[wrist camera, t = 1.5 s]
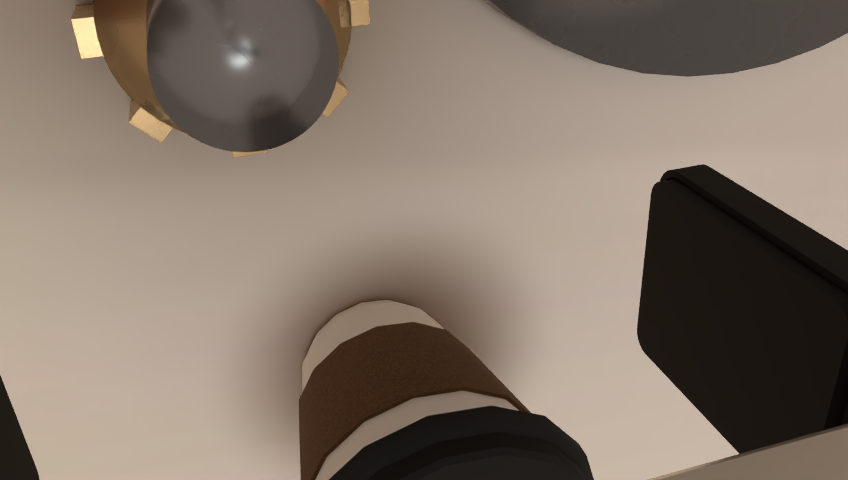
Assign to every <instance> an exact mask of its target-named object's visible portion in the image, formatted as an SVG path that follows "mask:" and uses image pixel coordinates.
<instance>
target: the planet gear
mask: <svg viewBox="0 0 848 480" xmlns="http://www.w3.org/2000/svg"><path fill="white" fill-rule="evenodd" d="M71 21H72V25H73V28H74V32H75V36H76V40H77V44H78V47H79V51H80V55H81V59H83V58H91V57H99V56H104V58H105V60H106V62H107V64H108V66H109V69H110V70H111V72H112V73H113V75H114V77H115V78H116V80H117V81H118V83H119V84H120V85H121V87H122V88H123V89H124V90H125V91H126V93H127V94H128V95H129V96H130V97H131V98H132V99H133V100H132V101H131V103H130V114H129V123H131V124H133V125H134V126H136V127H137V128H139V129H141V130H142V131H144V132H145V133H147V134H149V135H150V136H152V137H153V138H155V139H157V140H158V141H160V142H161V143H162V141H163V140H164V139H165V137H166V136H167V135H168V133H169V132H170V131H171V129H172V128H175V129H177V130H180V131H182V132H185V133H187V134H188V135H190V136H191V137H193V138H195V139H197V140H198V141H200V142H202V143H205V144H207V145H209V146H212V147H215V148H219V149H222V150H227V151H232V154H233V158H234V157H240V156H246V155H253V154H259V153H266V152H268V149H272V148H275V147H278V146H281V145H283V144H285V143H287V142H289V141H291V140H293V139H295V138H296V137H298V136H299V135H301V134H302V133H304V132H305V131H306V130H307V129H308V128H309V127H311V126H312V125H313V124H314V122H315V121H316V120H317V119H318V118H319V117H320V115H321V114H323V115H324V116H326V117H327V118H328V117H329V116H330V115H331V113H332V112H333V111H334V110H335V108H336V107H337V106H338V105H339V103H340V102H341V101H342V100H343V98H344V97H345V96H346V95H347V94H348V92H349V91H348V89H347V88H346V87H345V85H344V84H343V82H342V81H341V80H340V78H339V77H338V74H339V72H340V70H341V68H342V65H343V62H344V60H345V57H346V54H347V50H348V45H349V41H350V33H351V26H359V25H367V24H370V18H369V5H368V0H93V4H88V5H78V6H76V7H75V10H74V13H73V16H72V18H71Z"/></svg>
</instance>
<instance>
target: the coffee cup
mask: <svg viewBox="0 0 848 480" xmlns="http://www.w3.org/2000/svg"><path fill="white" fill-rule="evenodd" d="M299 431H300V466H301V480H594V479H593V476H592V472H591V469H590V466H589V462H588V459H587V456H586V454H585V453H584V451H583V450H582V448H581V447H580V445H579V444H578V443H577V442H576V441H575V440H574V439H572V438H571V437H570V436H569V435H567V434H566V433H565V432H564V431H562V430H561V429H560V428H559V427H558V426H556V425H555V424H554V423H553V422H551V421H550V420H549V419H548V418H547V417H545V416H542V415H537V414H532V413H531V412H530V411H529V410H528V409H527V408H526V407H525V406H524V405H523V404H522V403H521V402H520V401H519V400H518V399H517V398H516V397H515V396H514V395H513V394H512V393H511V392H510V391H509V390H508V389H507V388H506V387H505V385H504V384H503V383H502V382H501V381H500V380H499V379H498V378H497V377H496V376H495V375H494V374H493V373H492V372H491V371H490V370H489V369H488V368H487V367H486V366H485V365H484V364H483V363H482V362H481V361H480V360H479V359H478V358H477V357H476V356H475V355H474V354H473V353H472V351H471V350H470V349H469V348H468V347H466V346H465V345H464V344H463V343H461V342H460V341H459V340H458V339H457V338H455V337H454V336H453V335H452V334H450V333H449V332H448V331H447V330H445V329H444V328H443V327H442V326H441V325H440V324H439V323H437V322H436V321H435V320H434V319H433V318H431V317H430V316H429V315H428V314H426V313H425V312H424V311H423V310H422V309H420V308H417V307H414V306H410V305H406V304H402V303H398V302H394V301H391V300H379V301H370V302H362V303H359V304H357V305H355V306H353V307H351V308H348V309H346V310H344V311H342V312H340V313H338V314H336V315H335V316H334V317H333V318H332V319H331V320H330V321H329V322H328V323H327V324H326V325H325V326H324V327H323V328H321V329H320V330H319V331H318V332H317V334H316V336H315V338H314V340H313V342H312V344H311V346H310V349H309V351H308V353H307V355H306V357H305V359H304V361H303V364H302V395H301V397H300V399H299Z"/></svg>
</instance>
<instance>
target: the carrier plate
mask: <svg viewBox="0 0 848 480" xmlns="http://www.w3.org/2000/svg"><path fill="white" fill-rule="evenodd" d="M485 1H486V2H487V3H488V4H490V5H491V6H492V7H493V8H494V9H496V10H497V11H499V12H501V13H502V14H504V15H506V16H507V17H509V18H511V19H512V20H514V21H515V22H517V23H519V24H520V25H522V26H524V27H525V28H527V29H528V30H530V31H532V32H533V33H535V34H537V35H538V36H540V37H542V38H544V39H546V40H547V41H549V42H551V43H553V44H555V45H557V46H559V47H562V48H564V49H567V50H569V51H571V52H574V53H576V54H579V55H581V56H584V57H586V58H588V59H591V60H593V61H596V62H598V63H602V64H606V65H611V66H615V67H619V68H623V69H628V70H632V71H636V72H640V73H647V74H661V75H675V76H700V75H713V74H725V73H734V72H739V71H743V70H748V69H752V68H757V67H761V66H766V65H770V64H774V63H778V62H781V61H783V60H786V59H789V58H792V57H794V56H797V55H800V54H802V53H805V52H808V51H811V50H813V49H816V48H819V47H821V46H823V45H825V44H827V43H829V42H831V41H833V40H835V39H837V38H839V37H841V36H843V35H845V34H847V33H848V0H485Z"/></svg>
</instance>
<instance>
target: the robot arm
mask: <svg viewBox="0 0 848 480" xmlns="http://www.w3.org/2000/svg"><path fill="white" fill-rule="evenodd" d="M637 335H638V340H639V343H640V346H641V348H642V350H643V351H644V352H645V354H646V355H647V356H648V357H649V358H650V359H651V360H652V361H653V362H654V363H655V364H656V366H657V367H658V368H659V369H660V370H661V371H662V372H663V373H664V374H665V375H666V376H667V377H668V378H669V379H670V380H671V381H672V383H673V384H674V385H675V386H676V387H677V388H678V389H679V390H680V391H681V392H682V393H683V394H684V395H685V396H686V397H687V398H688V399H689V401H690V402H691V403H692V404H693V405H694V406H695V407H696V408H697V409H698V410H699V411H700V412H701V413H702V414H703V415H704V416H705V418H706V419H707V420H708V421H709V422H710V423H711V424H712V425H713V426H714V427H715V428H716V429H717V430H718V431H719V432H720V433H721V435H722V436H723V437H724V438H725V439H726V440H727V441H728V442H729V443H730V444H731V445H732V446H733V447H734V448H735V449H736V450H737V452H738V453H739V454H738V455H734V456H731V457H727V458H724V459H720V460H716V461H713V462H709V463H706V464H702V465H699V466H695V467H692V468H688V469H684V470H681V471H677V472H674V473H670V474H667V475H663V476H660V477H656V478H652V479H649V480H848V250H846V249H844V248H843V247H841V246H839V245H838V244H836V243H834V242H833V241H831V240H829V239H828V238H826V237H824V236H823V235H821V234H820V233H818V232H816V231H815V230H813V229H811V228H810V227H808V226H806V225H805V224H803V223H801V222H800V221H798V220H796V219H795V218H793V217H791V216H790V215H788V214H786V213H785V212H783V211H781V210H780V209H778V208H777V207H775V206H773V205H772V204H770V203H768V202H767V201H765V200H763V199H762V198H760V197H758V196H757V195H755V194H753V193H752V192H750V191H748V190H747V189H745V188H743V187H742V186H740V185H738V184H737V183H735V182H734V181H732V180H730V179H729V178H727V177H725V176H724V175H722V174H720V173H719V172H717V171H715V170H714V169H712V168H710V167H709V166H706V165H697V166H691V167H686V168H680V169H675V170H669V171H667V172H665V173H664V174H663V176H662V178H661V179H660V182H657V183H656V184H655V185H654V187H653V188H652V193H651V200H650V210H649V220H648V229H647V239H646V249H645V258H644V268H643V277H642V287H641V297H640V306H639V316H638V325H637ZM0 480H39V475H38V472H37V469H36V466H35V463H34V461H33V458H32V456H31V453H30V451H29V448H28V445H27V443H26V440H25V438H24V435H23V433H22V430H21V427H20V425H19V422H18V420H17V417H16V414H15V412H14V409H13V407H12V404H11V402H10V399H9V396H8V394H7V391H6V389H5V386H4V384H3V381H2V378H1V376H0Z"/></svg>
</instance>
